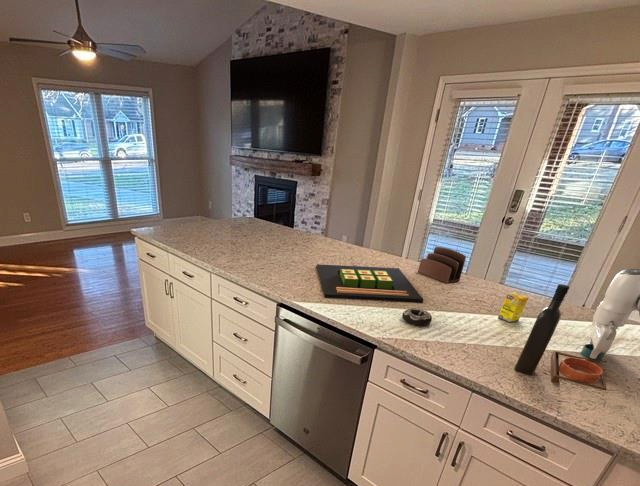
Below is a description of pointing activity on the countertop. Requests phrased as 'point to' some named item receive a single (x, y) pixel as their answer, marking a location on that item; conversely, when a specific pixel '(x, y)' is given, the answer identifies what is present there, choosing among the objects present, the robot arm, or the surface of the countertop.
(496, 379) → the countertop surface
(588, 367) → the big bowl
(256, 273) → the countertop surface
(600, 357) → the small bowl
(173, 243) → the countertop surface
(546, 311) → the wine bottle
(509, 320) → the supplement box
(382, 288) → the sushi set
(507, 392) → the countertop surface
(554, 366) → the tray
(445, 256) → the letter holder
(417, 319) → the donut
